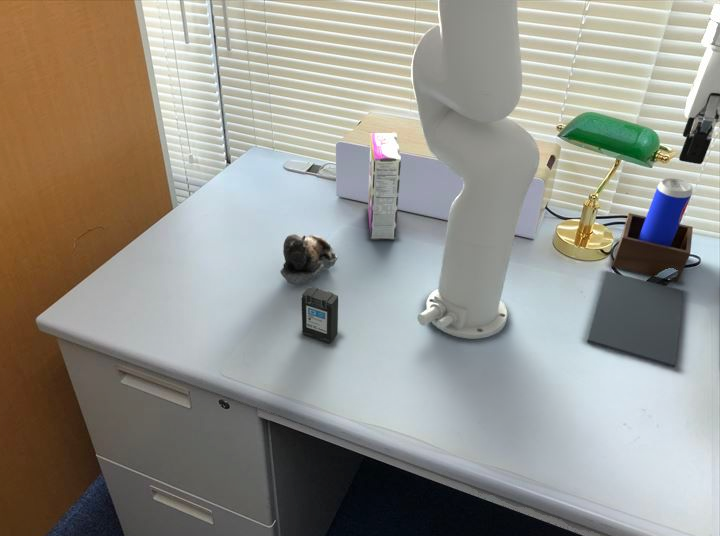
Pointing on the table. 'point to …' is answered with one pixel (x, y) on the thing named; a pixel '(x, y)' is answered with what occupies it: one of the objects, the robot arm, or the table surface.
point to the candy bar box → (383, 185)
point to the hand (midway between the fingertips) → (691, 149)
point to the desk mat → (638, 318)
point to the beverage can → (666, 211)
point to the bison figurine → (306, 258)
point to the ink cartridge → (319, 314)
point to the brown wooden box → (651, 250)
